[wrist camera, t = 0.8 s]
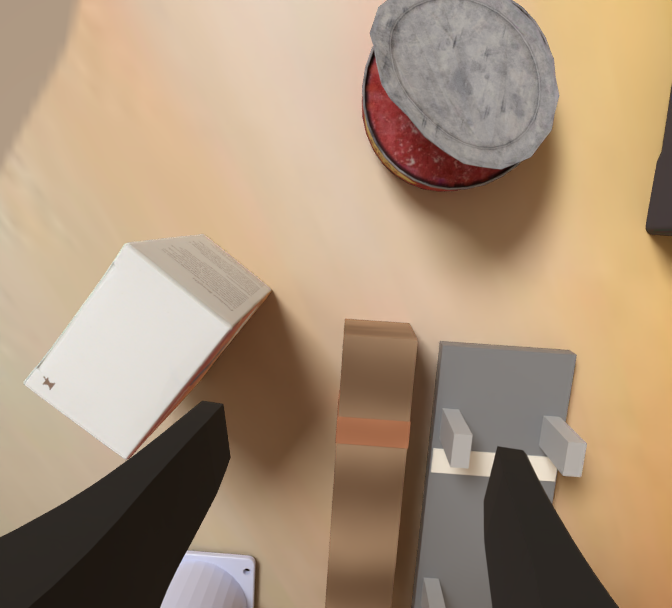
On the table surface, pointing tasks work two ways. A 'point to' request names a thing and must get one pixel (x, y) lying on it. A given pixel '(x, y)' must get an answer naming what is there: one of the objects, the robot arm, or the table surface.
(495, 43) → the canned food
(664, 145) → the black and red box
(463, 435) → the base plate
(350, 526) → the banded tan post
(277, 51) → the table surface
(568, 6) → the table surface
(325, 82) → the table surface
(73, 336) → the small box
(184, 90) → the table surface
